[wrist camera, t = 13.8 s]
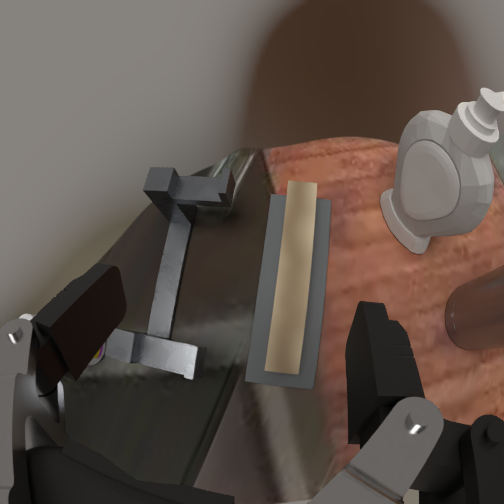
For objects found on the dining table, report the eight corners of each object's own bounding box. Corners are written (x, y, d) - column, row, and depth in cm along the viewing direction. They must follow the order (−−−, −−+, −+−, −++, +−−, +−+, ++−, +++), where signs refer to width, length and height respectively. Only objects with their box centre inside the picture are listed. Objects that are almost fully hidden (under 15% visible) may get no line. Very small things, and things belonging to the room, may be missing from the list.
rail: (314, 198, 39) (317, 183, 36) (296, 371, 33) (298, 374, 29) (288, 196, 40) (288, 180, 36) (266, 368, 33) (264, 370, 30)
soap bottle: (451, 246, 36) (562, 150, 13) (413, 272, 35) (535, 177, 12) (402, 173, 40) (467, 43, 17) (363, 192, 40) (419, 48, 17)
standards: (243, 210, 40) (230, 168, 31) (217, 371, 34) (192, 379, 25) (177, 205, 42) (149, 166, 32) (146, 356, 36) (103, 355, 26)
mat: (330, 202, 40) (331, 200, 39) (312, 388, 33) (313, 389, 32) (271, 196, 41) (271, 194, 40) (245, 380, 34) (244, 381, 33)
